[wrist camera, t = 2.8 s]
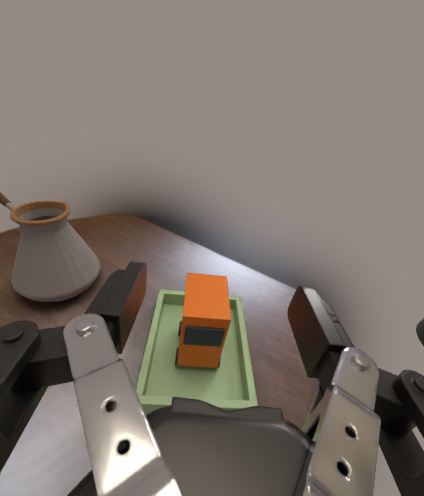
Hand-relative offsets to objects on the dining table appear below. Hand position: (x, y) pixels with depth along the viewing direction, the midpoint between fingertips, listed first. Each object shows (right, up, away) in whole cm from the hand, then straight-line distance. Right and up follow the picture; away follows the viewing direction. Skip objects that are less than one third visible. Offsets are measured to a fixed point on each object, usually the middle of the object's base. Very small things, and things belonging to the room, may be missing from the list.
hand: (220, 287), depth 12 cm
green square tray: (-2, -11, +19) cm, 22 cm away
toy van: (-2, -11, +19) cm, 22 cm away
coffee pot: (-29, -2, +26) cm, 39 cm away
